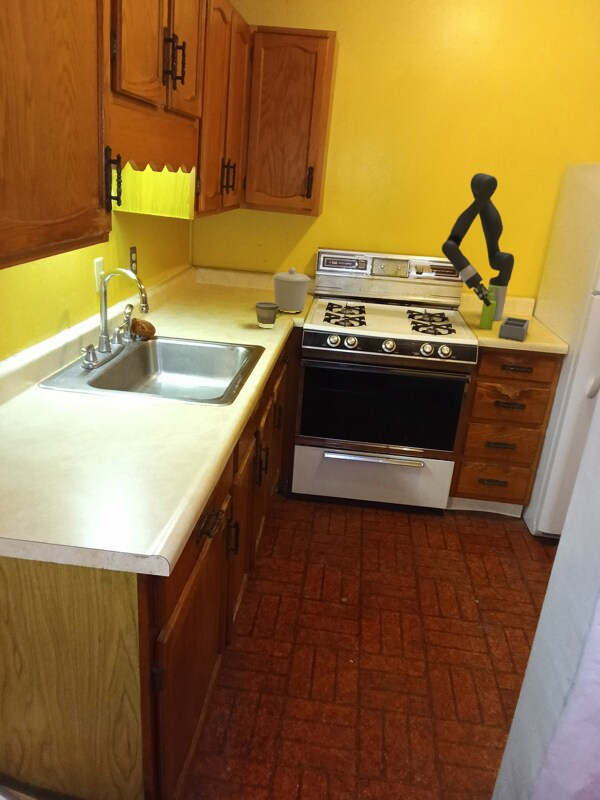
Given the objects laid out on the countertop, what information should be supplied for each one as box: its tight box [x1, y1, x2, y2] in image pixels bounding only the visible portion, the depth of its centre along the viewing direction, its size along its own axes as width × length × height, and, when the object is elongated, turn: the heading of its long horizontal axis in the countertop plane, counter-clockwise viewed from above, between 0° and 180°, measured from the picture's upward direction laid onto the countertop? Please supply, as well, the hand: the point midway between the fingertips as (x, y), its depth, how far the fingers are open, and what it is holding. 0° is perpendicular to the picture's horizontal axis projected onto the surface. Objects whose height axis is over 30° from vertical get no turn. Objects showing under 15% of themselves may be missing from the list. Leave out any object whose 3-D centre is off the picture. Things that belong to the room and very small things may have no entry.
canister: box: [272, 267, 312, 312], centre depth 296 cm, size 18×18×21 cm
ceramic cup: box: [255, 301, 285, 324], centre depth 265 cm, size 13×10×10 cm
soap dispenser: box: [478, 285, 501, 330], centre depth 291 cm, size 6×7×20 cm
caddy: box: [497, 316, 530, 343], centre depth 283 cm, size 21×10×6 cm, turn 155°
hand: (490, 304), depth 290 cm, fingers open, 8 cm apart
